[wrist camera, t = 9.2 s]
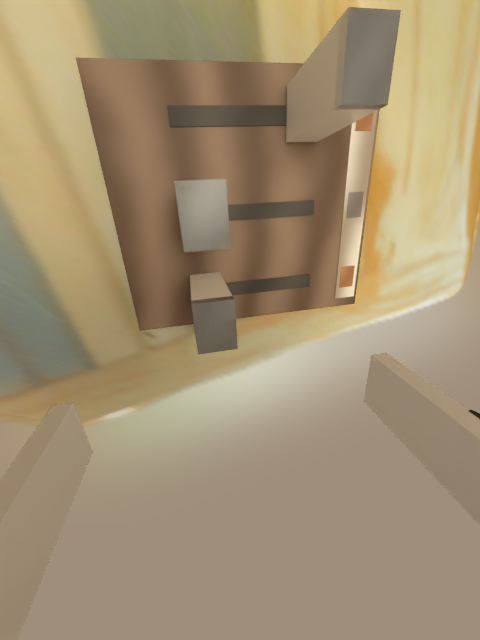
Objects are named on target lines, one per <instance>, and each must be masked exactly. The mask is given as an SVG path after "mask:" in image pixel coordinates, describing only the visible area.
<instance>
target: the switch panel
mask: <svg viewBox="0 0 480 640" xmlns="http://www.w3.org/2000/svg"><path fill="white" fill-rule="evenodd" d="M76 60H77V65H78V69H79V73H80V77H81V82H82V86H83V90H84V94H85V99H86V103H87V107H88V111H89V116H90V120H91V124H92V128H93V133H94V137H95V141H96V145H97V150H98V154H99V158H100V162H101V167H102V171H103V175H104V180H105V184H106V188H107V192H108V197H109V201H110V205H111V209H112V214H113V218H114V222H115V226H116V231H117V235H118V239H119V243H120V248H121V252H122V256H123V260H124V265H125V269H126V273H127V277H128V282H129V286H130V290H131V294H132V299H133V303H134V307H135V311H136V316H137V320H138V324H139V328H140V331H141V330H149V329H157V328H165V327H173V326H181V325H189V324H194V320H193V313H192V305H191V286H190V275H194V274H204V273H215V272H220V274H221V276H222V277H223V279H224V281H225V283H226V285H227V287H228V289H229V291H230V292H231V294H232V296H233V298H234V303H235V318H244V317H252V316H260V315H268V314H276V313H284V312H292V311H300V310H307V309H315V308H323V307H331V306H339V305H347V304H354V303H355V295H356V287H357V279H358V272H359V264H360V256H361V249H362V241H363V233H364V225H365V218H366V210H367V202H368V194H369V187H370V179H371V171H372V164H373V156H374V148H375V140H376V133H377V125H378V117H379V110H380V109H378V110H376V111H375V112H373V113H371V114H369V115H367V116H365V117H363V118H361V119H360V120H358V121H356V122H354V123H352V124H350V125H348V126H346V127H344V128H343V129H341V130H339V131H337V132H335V133H333V134H331V135H329V136H328V137H326V138H324V139H322V140H320V141H318V142H286V124H287V84H288V83H289V82H290V81H291V79H292V78H293V77H294V76H295V74H296V73H297V72H298V71H299V69H300V68H301V67H302V66H303V64H299V63H260V62H221V61H181V60H142V59H103V58H76ZM209 179H226V186H227V201H228V216H229V230H230V245H231V248H230V249H218V250H206V251H195V252H184V248H183V241H182V234H181V227H180V220H179V213H178V205H177V198H176V191H175V184H174V181H186V180H209Z"/></svg>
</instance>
